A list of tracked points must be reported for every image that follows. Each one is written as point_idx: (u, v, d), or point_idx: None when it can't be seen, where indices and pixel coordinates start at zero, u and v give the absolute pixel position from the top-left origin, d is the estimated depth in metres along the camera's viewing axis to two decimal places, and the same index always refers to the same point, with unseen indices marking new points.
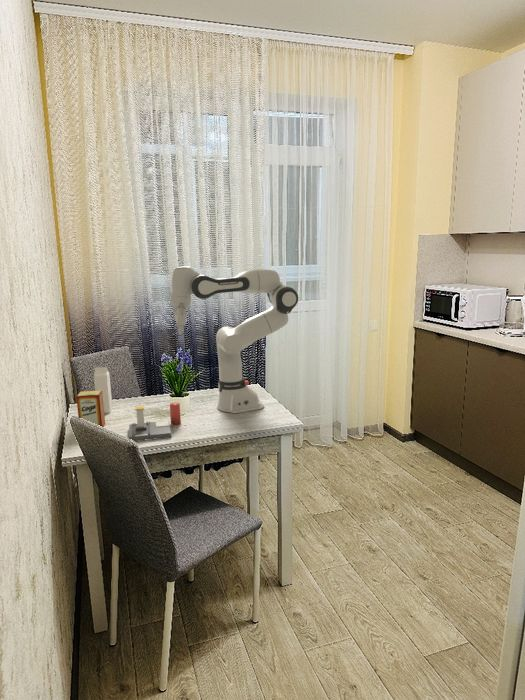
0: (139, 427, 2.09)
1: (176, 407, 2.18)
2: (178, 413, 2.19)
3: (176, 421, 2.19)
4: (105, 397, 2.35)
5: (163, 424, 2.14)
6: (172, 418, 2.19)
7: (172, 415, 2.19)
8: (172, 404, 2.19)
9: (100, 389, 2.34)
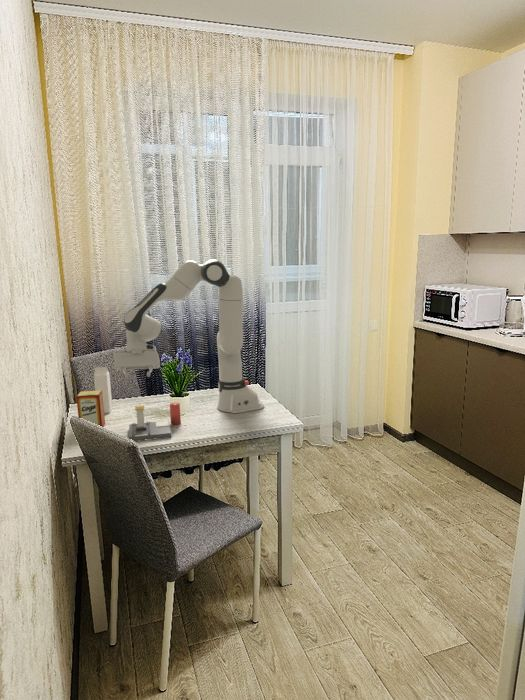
0: (139, 427, 2.09)
1: (176, 407, 2.18)
2: (178, 413, 2.19)
3: (176, 421, 2.19)
4: (105, 397, 2.35)
5: (163, 424, 2.14)
6: (172, 418, 2.19)
7: (172, 415, 2.19)
8: (172, 404, 2.19)
9: (100, 389, 2.34)
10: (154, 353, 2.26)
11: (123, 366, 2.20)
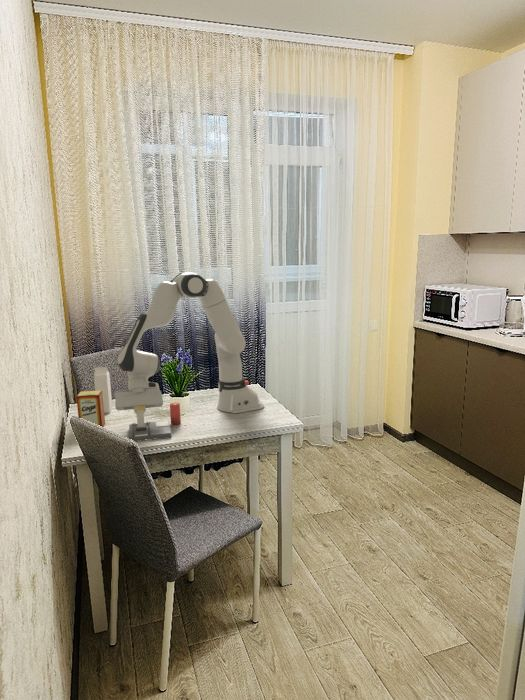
0: (139, 427, 2.09)
1: (176, 407, 2.18)
2: (178, 413, 2.19)
3: (176, 421, 2.19)
4: (105, 397, 2.35)
5: (163, 424, 2.14)
6: (172, 418, 2.19)
7: (172, 415, 2.19)
8: (172, 404, 2.19)
9: (100, 389, 2.34)
10: (157, 391, 2.17)
11: (125, 406, 2.12)
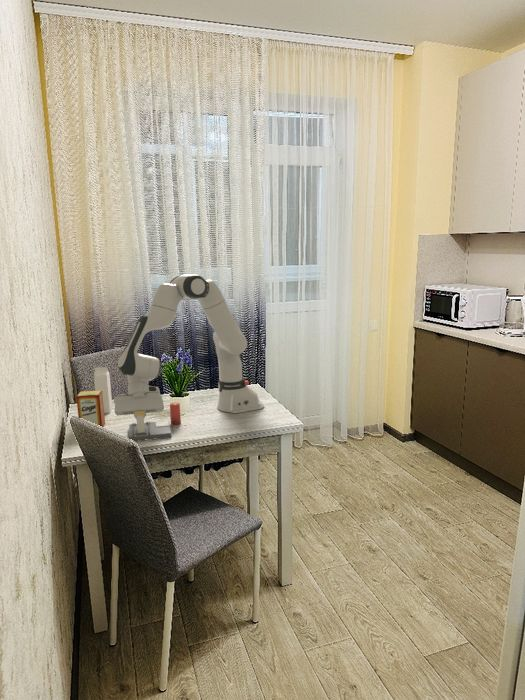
0: (139, 433, 2.03)
1: (176, 407, 2.18)
2: (178, 413, 2.19)
3: (176, 421, 2.19)
4: (105, 397, 2.35)
5: (163, 424, 2.14)
6: (172, 418, 2.19)
7: (172, 415, 2.19)
8: (172, 404, 2.19)
9: (100, 389, 2.34)
10: (157, 395, 2.11)
11: (124, 411, 2.06)
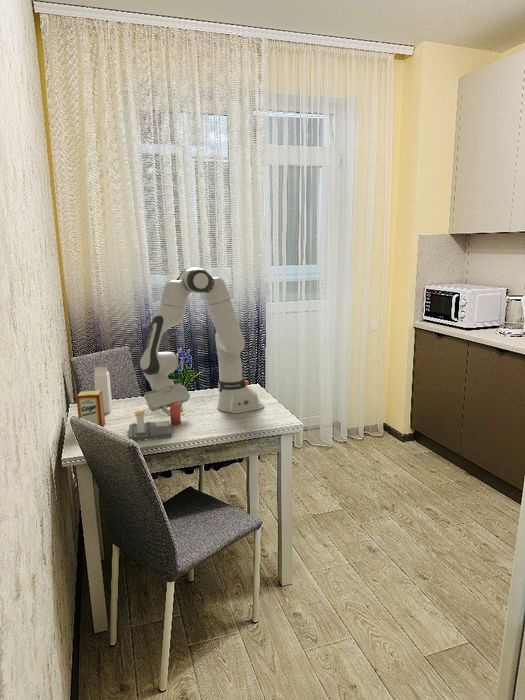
0: (139, 433, 2.03)
1: (176, 407, 2.18)
2: (178, 413, 2.19)
3: (176, 421, 2.19)
4: (105, 397, 2.35)
5: (163, 424, 2.14)
6: (172, 418, 2.19)
7: (172, 415, 2.19)
8: (172, 404, 2.19)
9: (100, 389, 2.34)
10: (182, 387, 2.28)
11: (160, 406, 2.17)
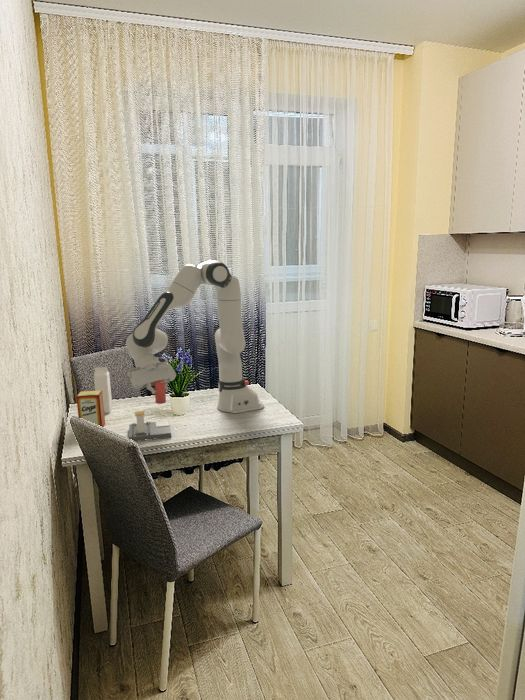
0: (139, 433, 2.03)
1: (161, 385, 2.09)
2: (163, 391, 2.11)
3: (161, 399, 2.11)
4: (105, 397, 2.35)
5: (163, 424, 2.14)
6: (157, 396, 2.11)
7: (157, 393, 2.10)
8: (157, 382, 2.11)
9: (100, 389, 2.34)
10: (167, 365, 2.19)
11: (145, 383, 2.08)
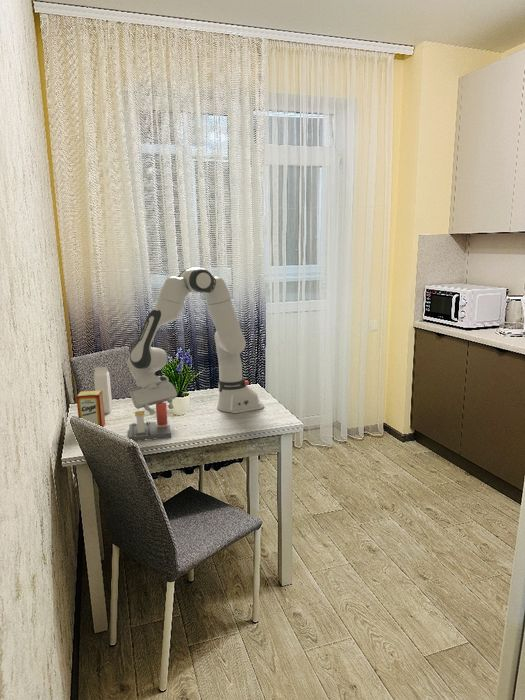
0: (139, 433, 2.03)
1: (162, 407, 2.12)
2: (164, 413, 2.13)
3: (163, 421, 2.13)
4: (105, 397, 2.35)
5: None
6: (158, 418, 2.13)
7: (158, 415, 2.12)
8: (158, 404, 2.13)
9: (100, 389, 2.34)
10: (169, 384, 2.21)
11: (146, 403, 2.10)
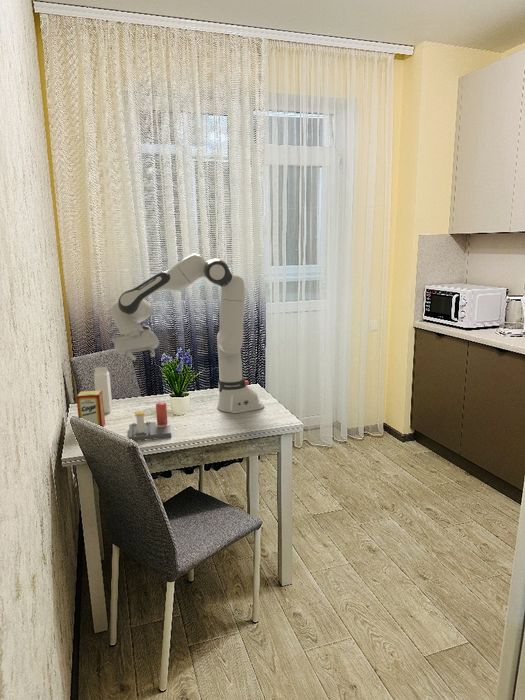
0: (139, 433, 2.03)
1: (162, 407, 2.12)
2: (164, 413, 2.13)
3: (163, 421, 2.13)
4: (105, 397, 2.35)
5: None
6: (158, 418, 2.13)
7: (158, 415, 2.12)
8: (158, 404, 2.13)
9: (100, 389, 2.34)
10: (151, 333, 2.27)
11: (128, 349, 2.16)
